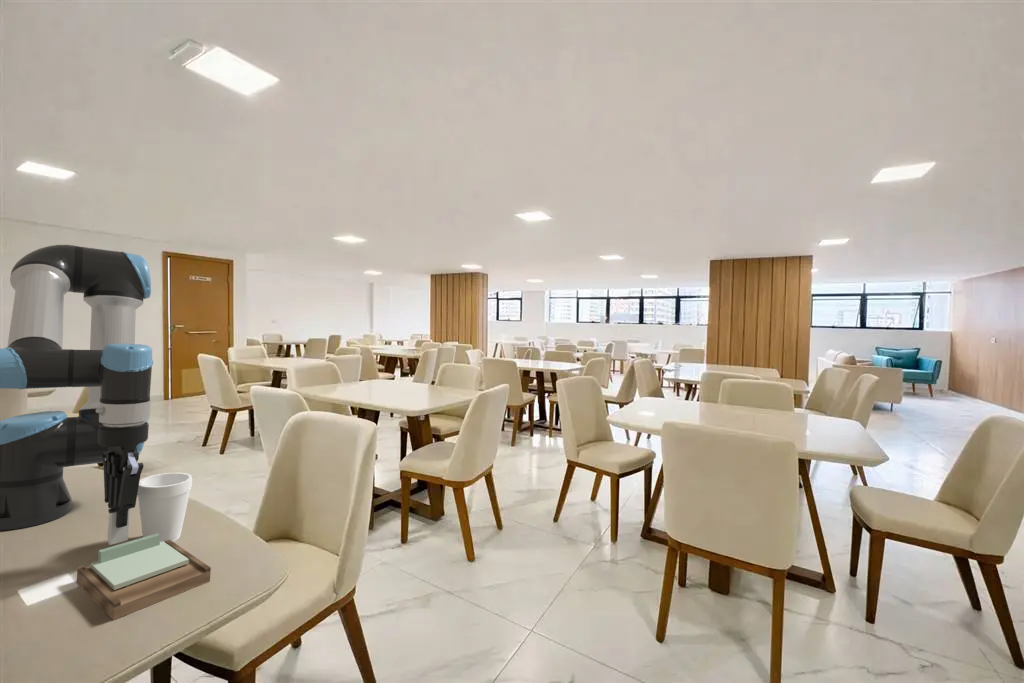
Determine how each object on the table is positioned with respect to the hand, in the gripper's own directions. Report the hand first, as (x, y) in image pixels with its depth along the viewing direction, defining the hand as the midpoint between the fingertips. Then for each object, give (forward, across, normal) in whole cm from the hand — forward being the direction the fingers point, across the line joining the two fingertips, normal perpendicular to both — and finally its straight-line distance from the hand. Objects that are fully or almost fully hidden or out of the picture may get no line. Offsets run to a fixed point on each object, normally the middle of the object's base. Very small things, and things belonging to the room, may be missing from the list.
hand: (117, 541), depth 88 cm
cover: (+1, +11, 0) cm, 11 cm away
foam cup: (+4, -3, +8) cm, 10 cm away
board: (+4, +13, 0) cm, 13 cm away
